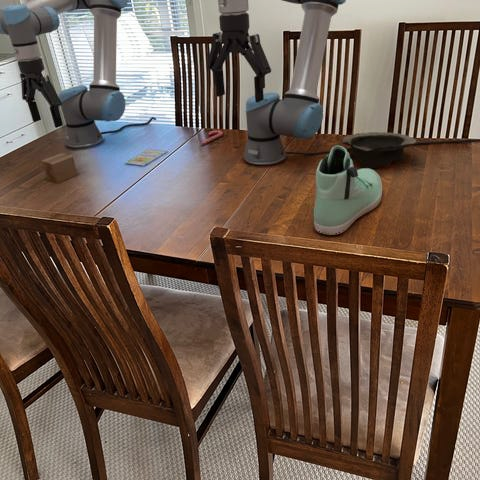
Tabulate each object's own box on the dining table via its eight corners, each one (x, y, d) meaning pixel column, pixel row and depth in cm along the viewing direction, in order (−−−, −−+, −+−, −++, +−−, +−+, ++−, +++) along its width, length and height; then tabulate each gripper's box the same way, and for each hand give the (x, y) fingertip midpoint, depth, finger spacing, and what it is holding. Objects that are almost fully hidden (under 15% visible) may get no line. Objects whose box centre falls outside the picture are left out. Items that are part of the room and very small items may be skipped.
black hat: (374, 178, 154) (374, 150, 149) (327, 160, 174) (326, 135, 170) (431, 159, 163) (433, 133, 158) (380, 144, 183) (380, 120, 179)
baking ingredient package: (124, 162, 180) (148, 148, 192) (124, 163, 181) (148, 150, 192) (143, 164, 177) (166, 151, 188) (143, 166, 177) (166, 152, 189)
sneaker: (389, 187, 148) (396, 123, 138) (356, 242, 123) (361, 168, 112) (346, 181, 154) (350, 119, 144) (306, 232, 129) (307, 161, 118)
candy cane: (192, 143, 195) (191, 140, 194) (214, 132, 205) (214, 128, 204) (203, 146, 192) (203, 142, 191) (225, 134, 202) (225, 130, 201)
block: (47, 178, 174) (41, 160, 170) (66, 170, 179) (61, 152, 176) (58, 183, 170) (52, 164, 166) (77, 174, 175) (73, 156, 172)
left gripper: (-2, 58, 158) (19, 121, 169) (40, 64, 144) (59, 132, 155) (19, 54, 163) (38, 115, 174) (61, 59, 149) (78, 125, 160)
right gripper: (187, 14, 125) (197, 96, 136) (265, 16, 111) (268, 107, 122) (207, 10, 130) (214, 90, 141) (283, 11, 116) (285, 99, 127)
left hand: (48, 123), depth 165 cm, fingers open, 13 cm apart
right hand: (239, 98), depth 131 cm, fingers open, 13 cm apart
